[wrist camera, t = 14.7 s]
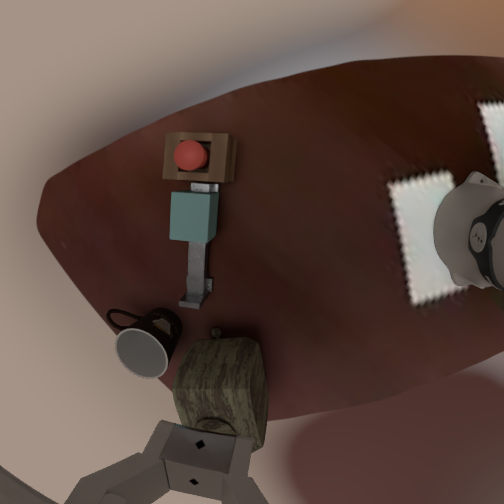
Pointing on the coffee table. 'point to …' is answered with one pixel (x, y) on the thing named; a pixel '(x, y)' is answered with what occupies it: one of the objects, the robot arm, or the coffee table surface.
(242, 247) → the coffee table surface
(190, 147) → the red rounded peg
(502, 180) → the coffee table surface
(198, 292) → the rail
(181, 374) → the tabletop clock
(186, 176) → the wooden box
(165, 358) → the coffee mug
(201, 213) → the block
